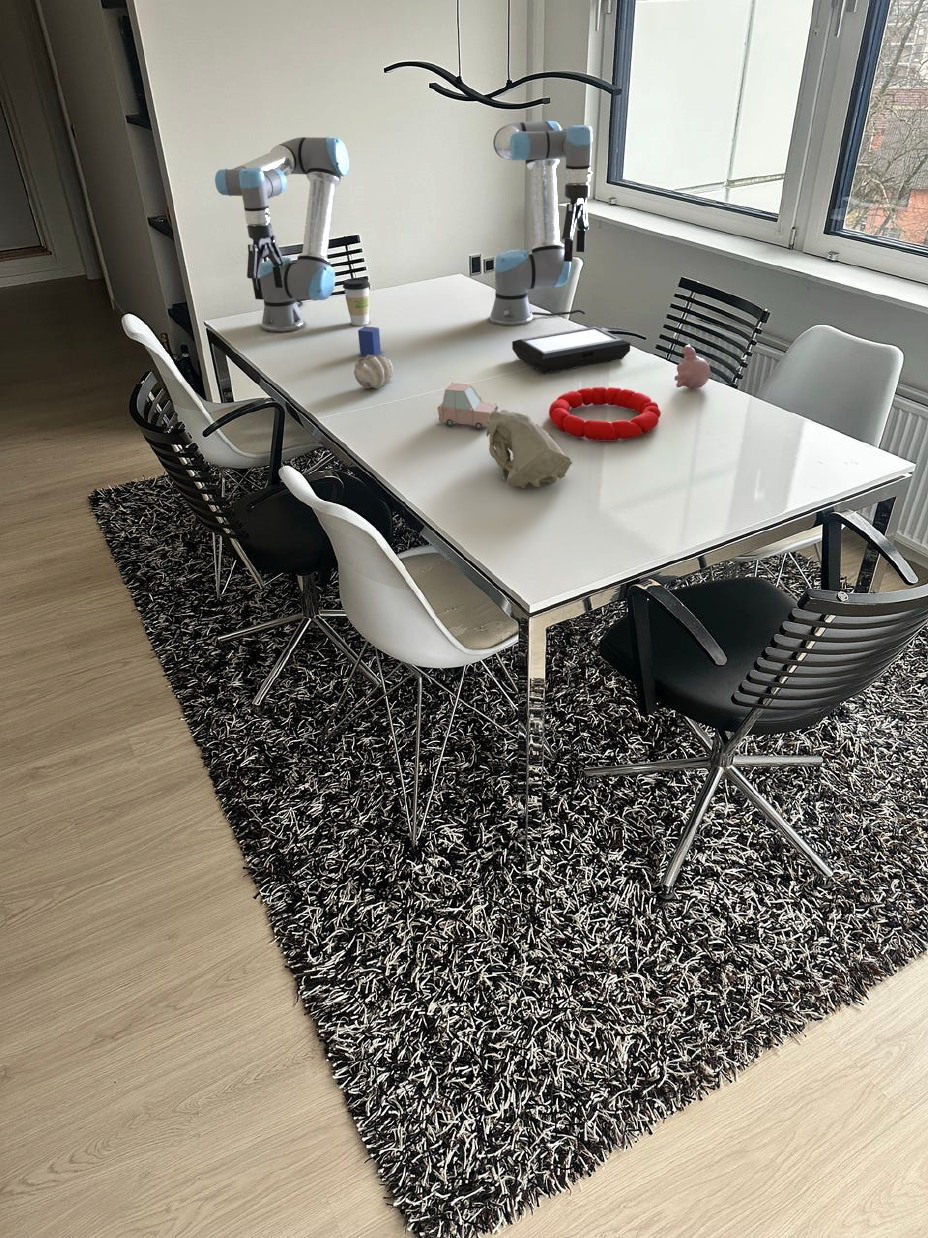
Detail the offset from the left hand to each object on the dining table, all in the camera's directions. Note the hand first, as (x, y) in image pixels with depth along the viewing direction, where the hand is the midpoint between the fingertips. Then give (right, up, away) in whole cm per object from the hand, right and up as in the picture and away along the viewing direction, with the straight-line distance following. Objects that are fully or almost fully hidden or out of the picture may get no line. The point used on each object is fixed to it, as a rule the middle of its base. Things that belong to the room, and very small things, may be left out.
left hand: (269, 293), depth 291 cm
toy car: (+65, -52, -45) cm, 95 cm away
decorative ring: (+102, -53, -47) cm, 124 cm away
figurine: (+130, -39, -28) cm, 139 cm away
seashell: (+37, -36, -20) cm, 55 cm away
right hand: (+99, +9, -7) cm, 99 cm away
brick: (+32, -18, +7) cm, 37 cm away
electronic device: (+98, -23, -3) cm, 100 cm away
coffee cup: (+25, +2, +36) cm, 44 cm away
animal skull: (+77, -70, -71) cm, 126 cm away
